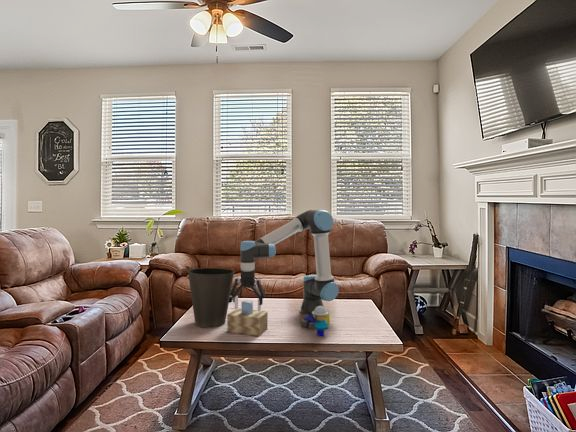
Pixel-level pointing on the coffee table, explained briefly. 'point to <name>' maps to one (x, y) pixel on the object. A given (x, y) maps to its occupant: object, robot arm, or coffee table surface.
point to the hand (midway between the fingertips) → (247, 309)
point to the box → (247, 325)
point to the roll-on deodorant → (247, 307)
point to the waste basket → (210, 295)
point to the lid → (255, 315)
